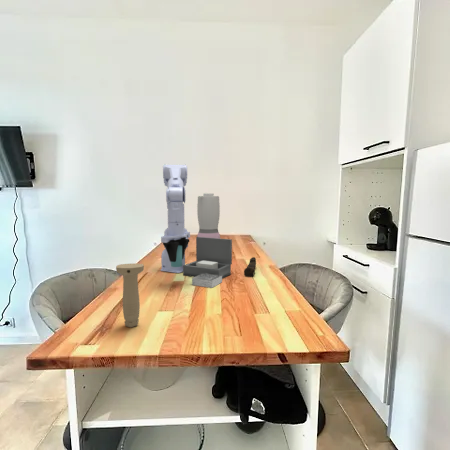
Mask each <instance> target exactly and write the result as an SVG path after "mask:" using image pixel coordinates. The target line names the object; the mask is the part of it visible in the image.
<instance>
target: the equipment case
mask: <svg viewBox="0 0 450 450" xmlns="http://www.w3.org/2000/svg"><path fill="white" fill-rule="evenodd" d="M195 241H196V243H195V244H196V245H195V246H196V247H195V251H196V253H195V255H196V257H195V258H196V260H195V261H194V260H193V261H192V262H189V263H185V265H183V272H182V274H183V275H182V276H186V277H192V278H193V277H196V276H198V275H200V274H202V273H207V274H214V275H222V280H223V279H225V278H227V277H228V276H230V275H231V274H232V273H231V271H232V270H231V269H232V265H233V262H232V261H233V239H230V238H220V239H219V238H206V237H197V236H196V237H195Z"/></svg>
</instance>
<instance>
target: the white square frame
mask: <svg viewBox="0 0 450 450" xmlns="http://www.w3.org/2000/svg"><path fill="white" fill-rule="evenodd" d="M221 283H223V279H222V275H214V274H207V273H202V274H200V275H198V276H196V277H192V278H191V285H192V286H196V287H203V288H210V289H213V288H215V287H216V286H218V285H220V284H221Z"/></svg>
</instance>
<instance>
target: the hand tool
mask: <svg viewBox="0 0 450 450" xmlns="http://www.w3.org/2000/svg"><path fill="white" fill-rule="evenodd" d="M256 268H257V258H256V257H251V258H250V259H249V262H248V264H247V266H246V267H245V268H244V271H243V275H244V277H245V278H253V277H254V276H255V271H256Z"/></svg>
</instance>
